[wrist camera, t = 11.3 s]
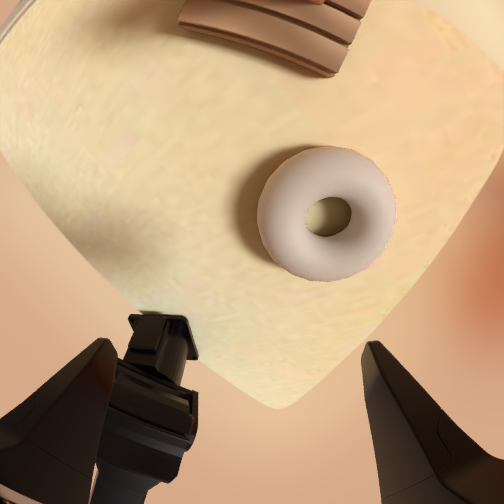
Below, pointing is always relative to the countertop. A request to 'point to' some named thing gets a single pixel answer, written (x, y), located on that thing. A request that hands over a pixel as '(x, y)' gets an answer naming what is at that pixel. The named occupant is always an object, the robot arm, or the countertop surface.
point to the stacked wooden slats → (282, 27)
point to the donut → (314, 189)
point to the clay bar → (318, 1)
